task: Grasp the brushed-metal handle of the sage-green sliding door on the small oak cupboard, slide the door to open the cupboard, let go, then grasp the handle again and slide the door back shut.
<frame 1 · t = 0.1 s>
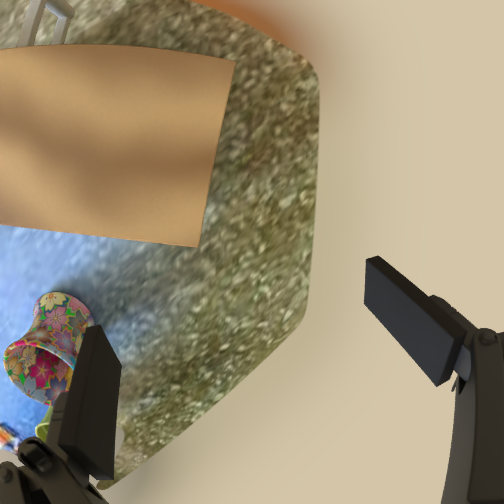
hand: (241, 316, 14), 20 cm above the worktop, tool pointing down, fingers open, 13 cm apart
cupboard: (112, 131, 27), on the worktop
sliding door: (72, 34, 17), point 6 cm above the worktop, slide at 0.0 cm
plant pot: (74, 397, 39), on the worktop
mug: (73, 314, 34), on the worktop
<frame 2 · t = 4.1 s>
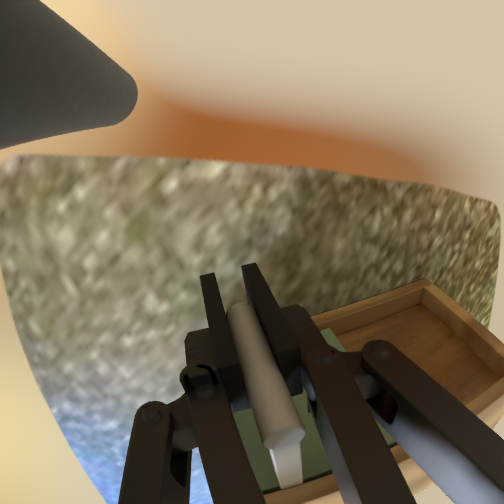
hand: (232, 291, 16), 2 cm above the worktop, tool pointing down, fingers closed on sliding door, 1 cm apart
cupboard: (325, 371, 24), on the worktop
sliding door: (299, 370, 14), point 6 cm above the worktop, slide at 0.0 cm, touching gripper
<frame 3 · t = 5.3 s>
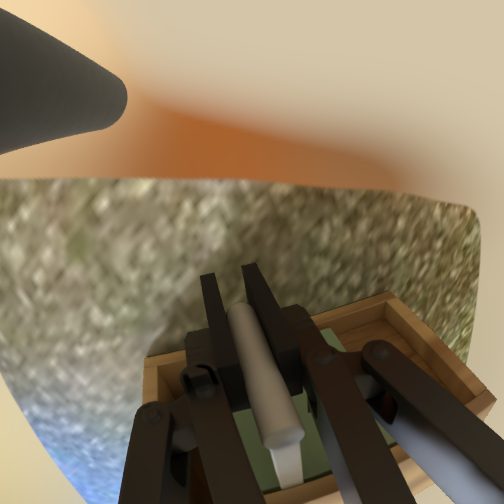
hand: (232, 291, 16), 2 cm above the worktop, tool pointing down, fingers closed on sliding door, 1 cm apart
cupboard: (283, 385, 23), on the worktop
sliding door: (299, 370, 14), point 6 cm above the worktop, slide at 3.7 cm, touching gripper
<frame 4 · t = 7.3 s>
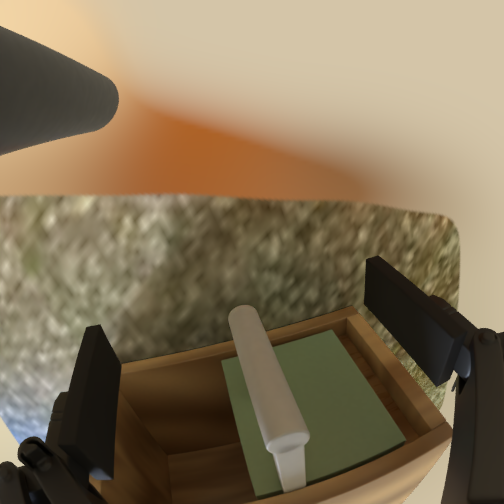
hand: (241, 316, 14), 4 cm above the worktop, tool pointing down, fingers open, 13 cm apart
cupboard: (242, 398, 23), on the worktop
sliding door: (302, 372, 14), point 6 cm above the worktop, slide at 7.1 cm
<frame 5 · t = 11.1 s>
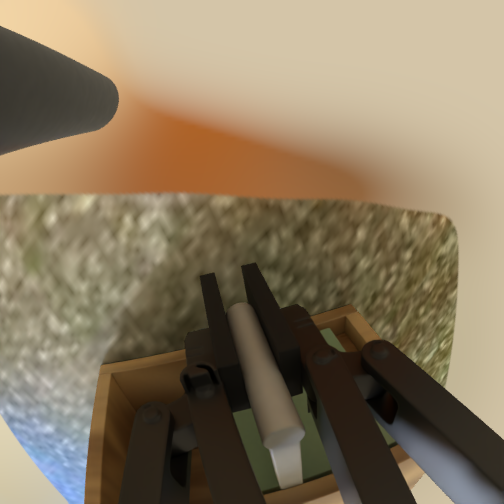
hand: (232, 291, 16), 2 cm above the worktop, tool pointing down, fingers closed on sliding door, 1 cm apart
cupboard: (241, 396, 23), on the worktop
sliding door: (299, 370, 14), point 6 cm above the worktop, slide at 7.0 cm, touching gripper
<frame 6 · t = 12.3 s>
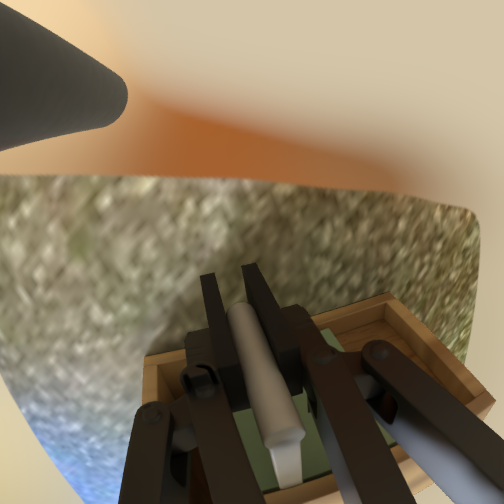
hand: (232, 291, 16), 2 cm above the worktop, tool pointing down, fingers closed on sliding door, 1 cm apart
cupboard: (282, 385, 23), on the worktop
sliding door: (299, 370, 14), point 6 cm above the worktop, slide at 3.6 cm, touching gripper
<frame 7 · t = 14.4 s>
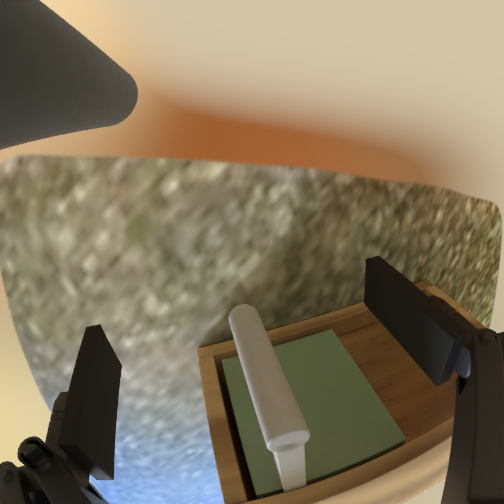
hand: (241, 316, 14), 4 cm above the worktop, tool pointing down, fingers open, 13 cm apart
cupboard: (326, 372, 24), on the worktop
sliding door: (302, 372, 14), point 6 cm above the worktop, slide at 0.1 cm
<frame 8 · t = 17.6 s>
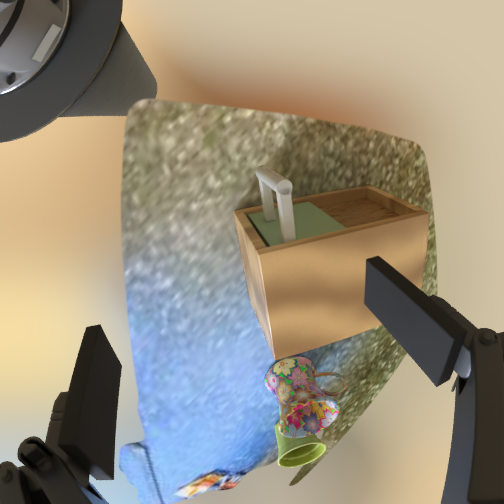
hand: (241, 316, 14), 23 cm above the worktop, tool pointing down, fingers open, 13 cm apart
cupboard: (310, 242, 40), on the worktop
sliding door: (291, 197, 30), point 6 cm above the worktop, slide at 0.1 cm
plant pot: (288, 421, 56), on the worktop
mug: (294, 366, 49), on the worktop
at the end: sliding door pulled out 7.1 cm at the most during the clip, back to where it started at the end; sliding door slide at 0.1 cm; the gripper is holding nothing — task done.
